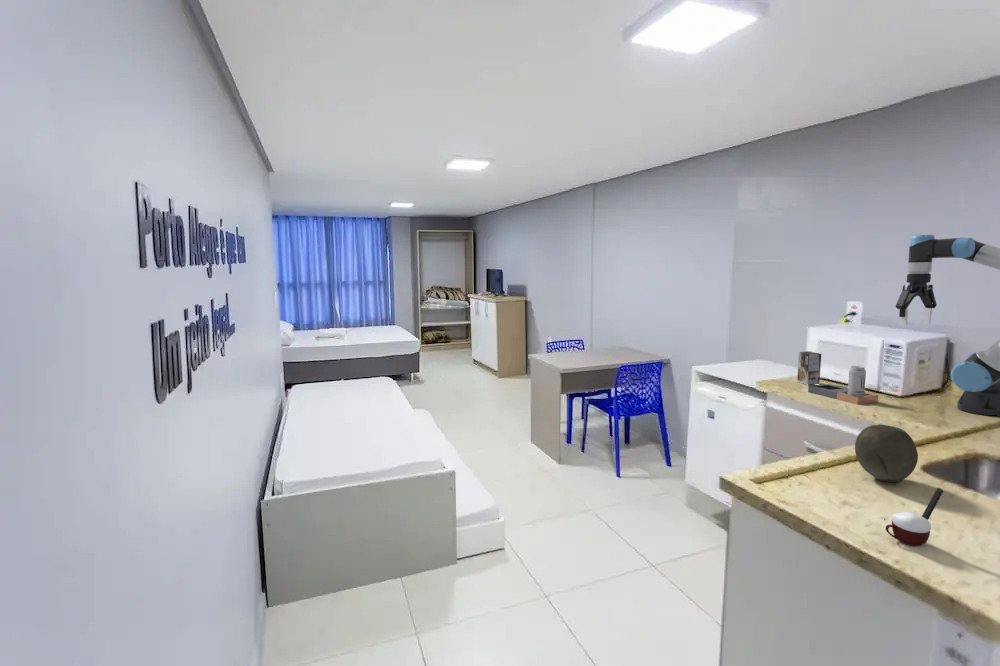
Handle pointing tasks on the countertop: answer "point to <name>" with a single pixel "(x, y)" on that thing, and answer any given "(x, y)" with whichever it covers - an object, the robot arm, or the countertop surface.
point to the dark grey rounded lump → (886, 452)
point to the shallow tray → (841, 394)
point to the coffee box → (809, 367)
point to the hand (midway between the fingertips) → (914, 324)
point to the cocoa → (914, 524)
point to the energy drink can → (856, 381)
